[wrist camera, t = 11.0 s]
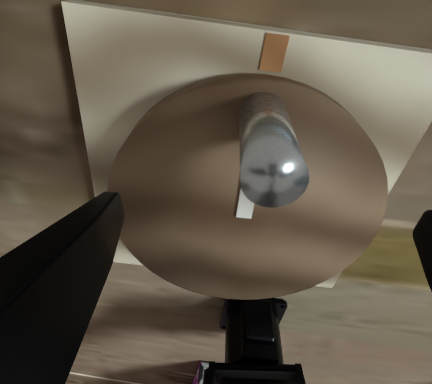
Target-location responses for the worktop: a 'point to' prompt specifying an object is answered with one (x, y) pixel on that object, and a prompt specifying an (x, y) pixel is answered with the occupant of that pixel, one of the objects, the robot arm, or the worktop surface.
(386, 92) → the birch board
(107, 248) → the robot arm
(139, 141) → the walnut dial
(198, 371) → the candy bar box
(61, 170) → the worktop surface
